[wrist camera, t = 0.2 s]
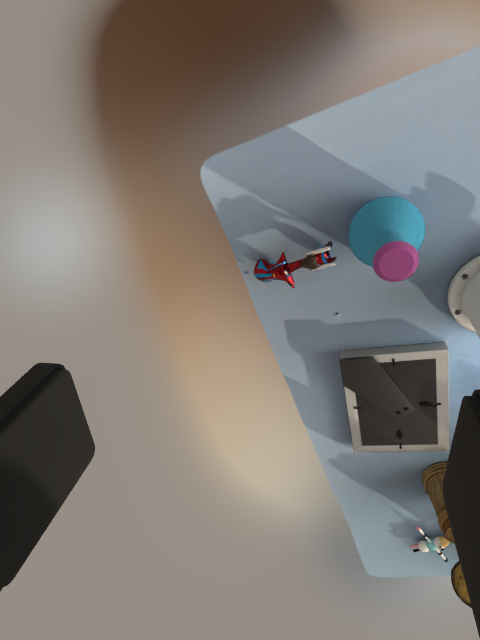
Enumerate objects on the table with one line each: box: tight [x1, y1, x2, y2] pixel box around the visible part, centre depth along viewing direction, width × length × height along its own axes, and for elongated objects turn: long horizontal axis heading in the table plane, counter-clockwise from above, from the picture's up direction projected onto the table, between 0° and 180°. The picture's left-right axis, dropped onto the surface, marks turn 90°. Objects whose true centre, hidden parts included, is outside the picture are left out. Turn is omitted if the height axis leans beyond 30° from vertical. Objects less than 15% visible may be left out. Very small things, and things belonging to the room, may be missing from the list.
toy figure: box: [410, 527, 451, 562], centre depth 83 cm, size 12×2×9 cm
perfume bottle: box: [348, 196, 425, 282], centre depth 49 cm, size 9×9×15 cm
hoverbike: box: [254, 241, 337, 288], centre depth 58 cm, size 5×12×6 cm, turn 112°
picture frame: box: [340, 342, 449, 452], centre depth 68 cm, size 16×3×21 cm
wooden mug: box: [422, 462, 472, 608], centre depth 69 cm, size 9×14×18 cm, turn 16°
